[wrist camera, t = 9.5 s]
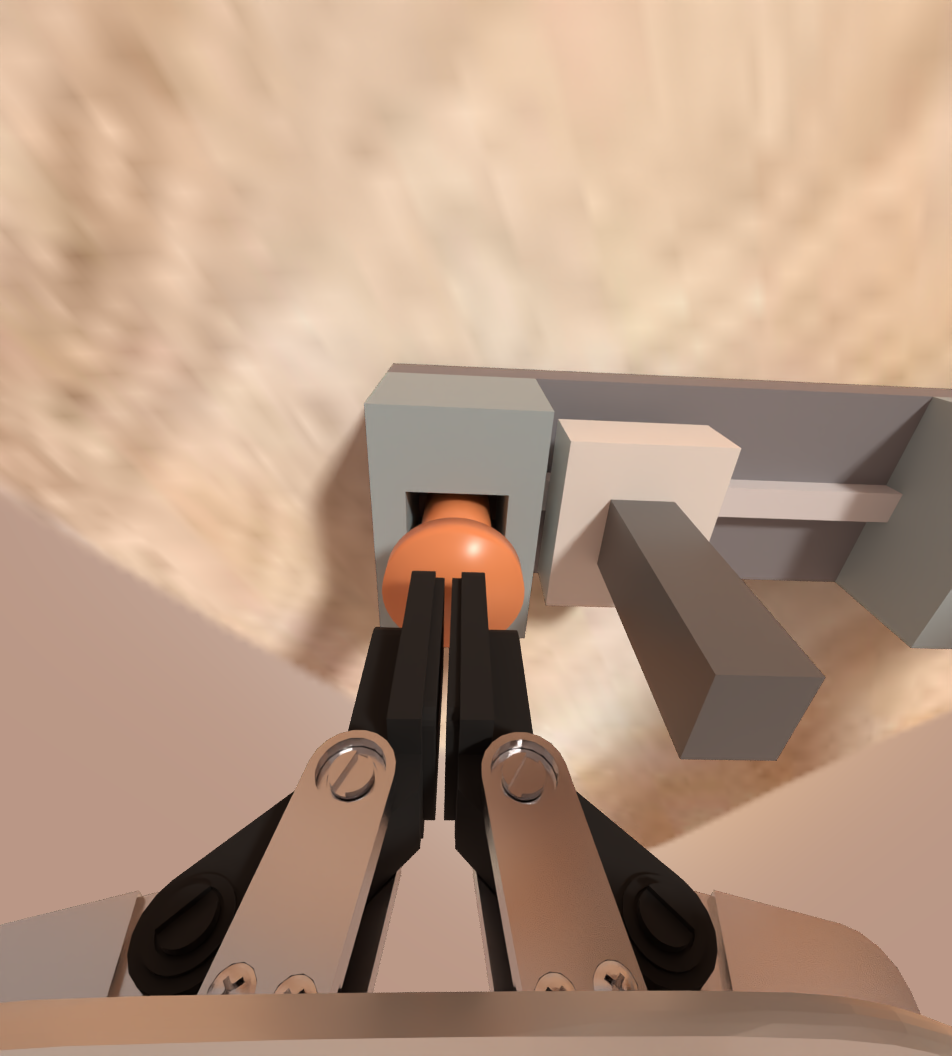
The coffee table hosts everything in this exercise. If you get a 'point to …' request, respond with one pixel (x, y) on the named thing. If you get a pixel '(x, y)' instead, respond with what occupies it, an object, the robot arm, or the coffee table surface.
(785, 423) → the rail board
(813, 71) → the coffee table surface
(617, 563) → the carriage
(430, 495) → the button
